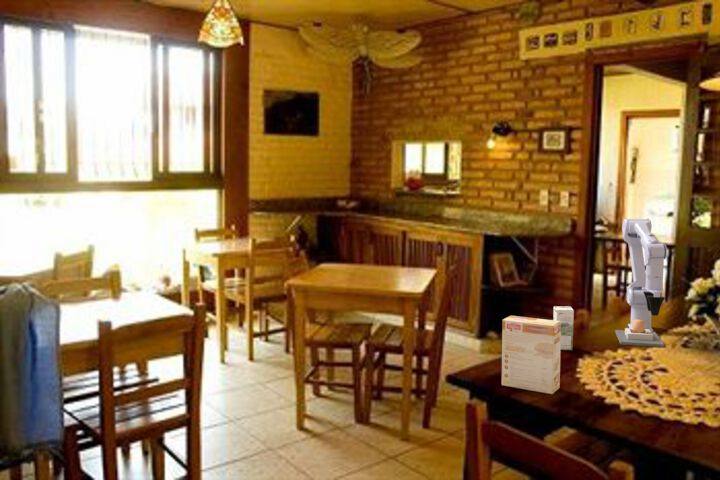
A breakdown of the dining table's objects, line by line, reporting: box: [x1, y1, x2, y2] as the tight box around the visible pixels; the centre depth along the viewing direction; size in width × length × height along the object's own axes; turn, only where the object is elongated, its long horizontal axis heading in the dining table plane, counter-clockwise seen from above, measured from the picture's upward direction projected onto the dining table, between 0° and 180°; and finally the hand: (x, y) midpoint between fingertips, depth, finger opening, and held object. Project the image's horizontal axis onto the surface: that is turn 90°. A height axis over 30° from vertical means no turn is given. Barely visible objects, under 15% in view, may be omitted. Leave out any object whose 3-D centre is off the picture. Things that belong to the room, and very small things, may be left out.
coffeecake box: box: [501, 315, 561, 395], centre depth 182 cm, size 15×7×20 cm, turn 56°
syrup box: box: [552, 305, 575, 351], centre depth 222 cm, size 6×6×14 cm
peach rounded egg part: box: [633, 319, 645, 334], centre depth 233 cm, size 4×4×6 cm
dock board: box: [614, 327, 665, 348], centre depth 233 cm, size 18×14×3 cm
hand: (652, 313), depth 234 cm, fingers open, 7 cm apart
